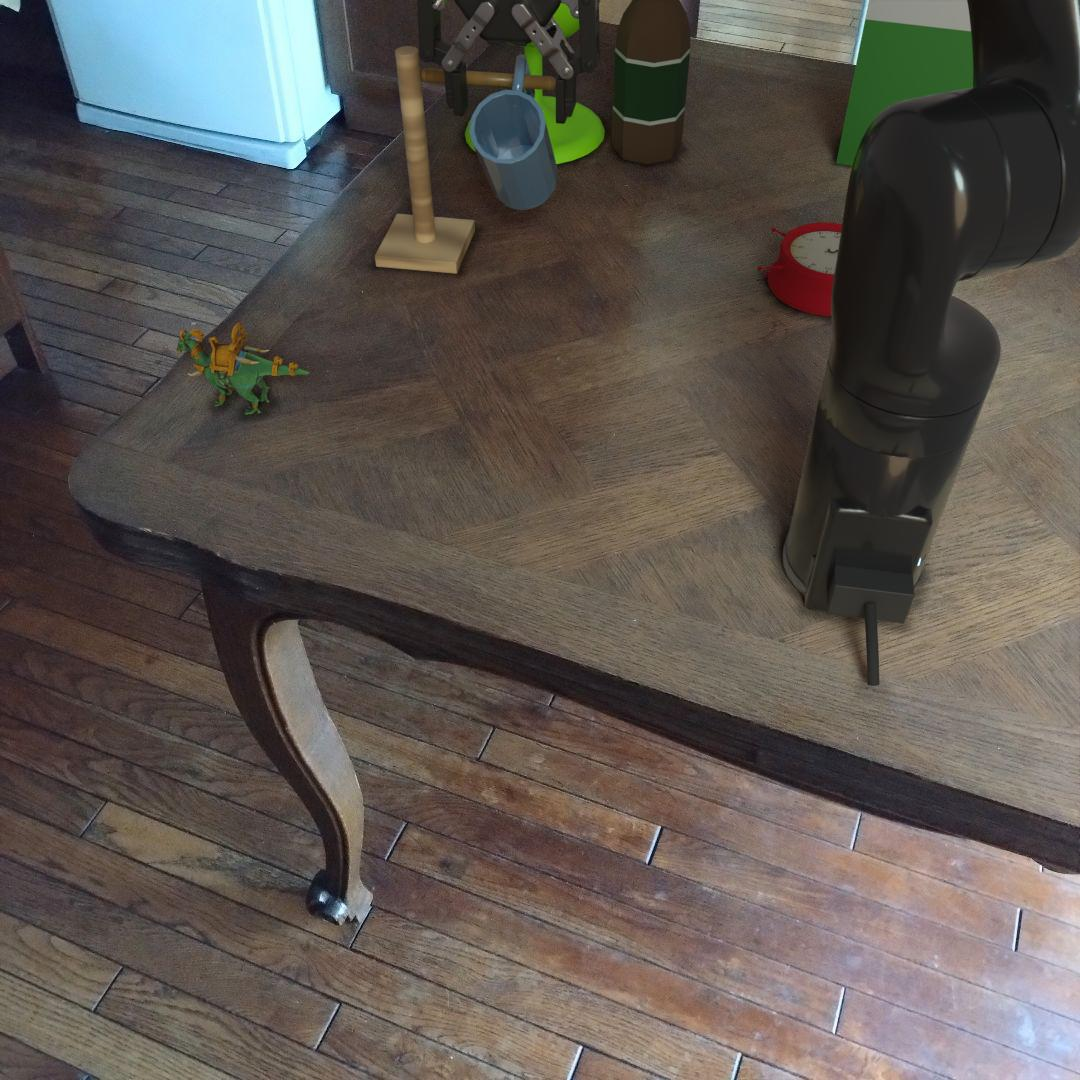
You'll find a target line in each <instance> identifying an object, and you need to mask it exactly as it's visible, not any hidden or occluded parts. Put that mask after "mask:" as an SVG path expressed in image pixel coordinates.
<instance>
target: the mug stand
mask: <svg viewBox="0 0 1080 1080" xmlns="http://www.w3.org/2000/svg"><path fill="white" fill-rule="evenodd" d="M394 55H395V64H396V65H395V66H396V74H397V84H398V92H399V101H400V111H401V119H402V129H403V138H404V147H405V156H406V164H407V165H406V166H407V173H408V174H407V175H408V185H409V193H410V202H411V213H412V214H407V213H406V214H405V213H396V215H395V216H394V218H393V221H392V222H391V224H390V226H389V228H388V230H387V232H386V234H385V236H384V237H383V239H382V241H381V243H380V245H379V247H378V249H377V250H376V252H375V253H374V254H375V255H374V261H375V266H376V267H377V268H387V269H388V268H389V269H398V270H399V269H400V270H411V271H421V272H432V273H433V272H434V273H445V274H458V272H459V269H460V267H461V265H462V262H463V260H464V258H465V256H466V253H467V251H468V248H469V246H470V244H471V242H472V239H473V237H474V234H475V232H476V224H475V223H476V221H475V219H466V218H455V217H443V216H435V212H434V203H433V202H434V201H433V192H432V181H431V169H430V159H429V158H430V157H429V147H428V138H427V137H428V136H427V127H426V116H425V107H424V95H423V86H422V85H423V84H422V83H423V82H424V83H435V84H445V78H444V71H443V69H442V68H431V67H430V68H429V67H427V68H425V67H424V68H423V69H422V70H421V64H420V63H421V62H420V56H419V48H418V47H416V46H413V45H403V46H400V47H397V48H396V49H395V50H394ZM466 76H467V86H481V87H495V88H509V89H512V86H513V79H514V73H509V72H508V73H507V72H492V71H477V70H476V71H475V70H466ZM422 81H423V82H422ZM524 89H539V90H543V91H553V90H554V89H556V78H555V77H553V76H552V75H542V76H540V75H525V77H524V85H523V90H524Z"/></svg>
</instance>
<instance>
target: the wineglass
mask: <svg viewBox="0 0 1080 1080" xmlns="http://www.w3.org/2000/svg"><path fill="white" fill-rule="evenodd" d="M601 1H602V0H599V4H600V2H601ZM553 18H554V19H555V21H556V22H557V24H558V25H559V26H560V28H561V29H562V31H563V34H564V37H565V39H566V40H567V39H568V38H569V37H571V36H572V35H574V34H575V33H577V32H578V31H579V19H575V18H573V17H572V15H571V14H570V10H569V7H568V6H567V5H566V4H563V3H561V4H560V6H559V8H558V9H557V11H556V12H555V14H554V15H553ZM542 41H543V40H542ZM506 44H508V45H511V46H516V45H513V44H510V43H506ZM516 47H517V46H516ZM520 47H522V48H524V56H525V57H526V59H527V63H528V66H529V70H530V74H531V75H540V76H543V56H542V54H541V53H540V52H539V50H538V49H537V47H536V46H535V45H534V43H533V42H531V43H528V44H527V46H520ZM534 90H535V97H534V99H535V101H536V102H537V103H538V104H539V105H540V107H541V108H542V111H543V114H544V118H545V121H546V125H547V129H548V133H549V137H550V141H551V145H552V149H553V153H554V157H555V161H556V165H560V164H563V163H568V162H573V161H575V160H577V159H580V158H582V157H585V156H587V155H589V154H590V153H592V152H593V151H595V150H596V149H597V148H599V146H600V145H601V143H602V142H603V141H604V138H605V132H606V130H605V127H604V124H603V122H602V120H601V118H600V117H599V116H598V115H597V114H596V113H595V112H594V111H593V110H592V109H591V108H589V107H587V106H586V105H583V104H581V103H580V102H577V101H576V105H575V108H574V111H573V113H572V116H571V117H567V119H566V122H565V124H560V123H556V96H550V95H543V93H544V90H539V89H534ZM470 124H471V119H470V120H468V123H467V126H466V128H465V131H464V136H465V142H466V144H468V146H469V148H471V150H472V151H473V152H475V153H476V150H475V148H474V146H473V142H472V139H471V135H470Z"/></svg>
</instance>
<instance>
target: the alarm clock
mask: <svg viewBox="0 0 1080 1080" xmlns="http://www.w3.org/2000/svg"><path fill="white" fill-rule="evenodd" d="M841 229H842V223H838V222H822V221H821V222H811V223H805V224H801V225H798V226H796V227H794V228H792V229H790V230H789V231H788V232H787V233H785V232H782V231H780V230H778V229H777V228H776V227H775V226H774V227H771V233H776V234H779V235H780V236H782V237H783V238H782V240H781V242H780V245H779V249H778V250H779V252H778V257H777V258H776V260H775V261H774V263H772V265H771V266H761V265H758V266H757V271H758V272H762V271H763V270H769V271H766V272H765V274H764V278H763V280H765V278H767V283H768V287H769V289H770V290H771V292H772V294H774V295H775V297H776V298H777V299H779V301H781V302H782V303H784V304H786V305H787V306H789V307H792V308H793V309H795V310H799V311H801V312H804V313H807V314H811V315H816V316H823V317H831V293H832V285H833V279H834V273H835V267H836V261H837V255H838V248H839V242H840V236H841Z"/></svg>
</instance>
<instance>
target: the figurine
mask: <svg viewBox="0 0 1080 1080" xmlns="http://www.w3.org/2000/svg"><path fill="white" fill-rule="evenodd" d="M238 331H239V333H238ZM244 331H245V327H244V324H243V322H237V323H236V324H234V326H233V328H232V331H231V335H230V337H231V342H230V344H227V343H219V339H218V337H217V336H212V337H211V336H210V337H209V338H208V341H209V343H210V345H211V348H212V351H211V352H210V353H208V352H207V351H206V349H205V347H204V346H203V344H202V343H201V342H203V338H204V336H205V333H204V332H203V331H202V330H200V329H199V328H196V327H195V328H193V329H192V330H190V332H188V330H187V329H185V328H184V329H181V330H180V332H179V337H180V338H179V340H178V342H177V346H176V353H177V354H179V355H180V354H182V352H188V351H190V356H191V358H192V360H193V363H192V365H193V367H194V368H195V370H196V371H195V372H193V373H188V372H187V373H186V374H187V375H188V376H190V377H193V378H194V377H196V378H197V377H200V376H202V375H204V376H205V379H206V380H207V382H208V383H209V384H210V385H211V386H212V387H213V388H214V389H216V390H217V391H218V392H219V393H220V394H219V396H218V400H215V404H214V407H219V406H222V405H223V404H224V403H225V402H226V400H227V399H226V398H227V396H231V395H232V394H233V392H234V390H235V391H236V392H237V393H238V396H240V397H241V398H243V399H244V400H246V401H249V402H251V406H248V407H247V408H246V409H245V411H244V415H246V416H247V415H253V414H254V413H256V412H257V414H261V413H262V411H261V409H259V407H258V406H259V402H265V401H266V403H267V404H268V403H270V400H269V398H268V392H269V389H270V387H269V386H268V385H267V384H266V383H265V381H264V377H265V376H271V377H279V376H285V375H286V376H291V377H294V376H295V377H296V376H307V375H309V374H310V371H308V370H306V369H303V368H299V364H298V363H295V362H289V364H288V365H284V364H283V363H284V358H281V357H279V356H278V355H276V356H274V357H273V360H268V359H266V358H264V357H260V356H258V355H256V354H266V353H268V352H269V351H270V349H261V348H257V347H254V346H253V347H252V346H248V345H246V344H244V341H247V340H248V336H249V333H247V332H244ZM184 333H185V334H184ZM192 337H196V339H193V338H192ZM253 353H256V354H253ZM255 386H257V387H259V388H260V389H261V394H258V396H256V395H255V394H254V393H253V389H254V387H255ZM224 389H227V390H226V391H225V390H224Z"/></svg>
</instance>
